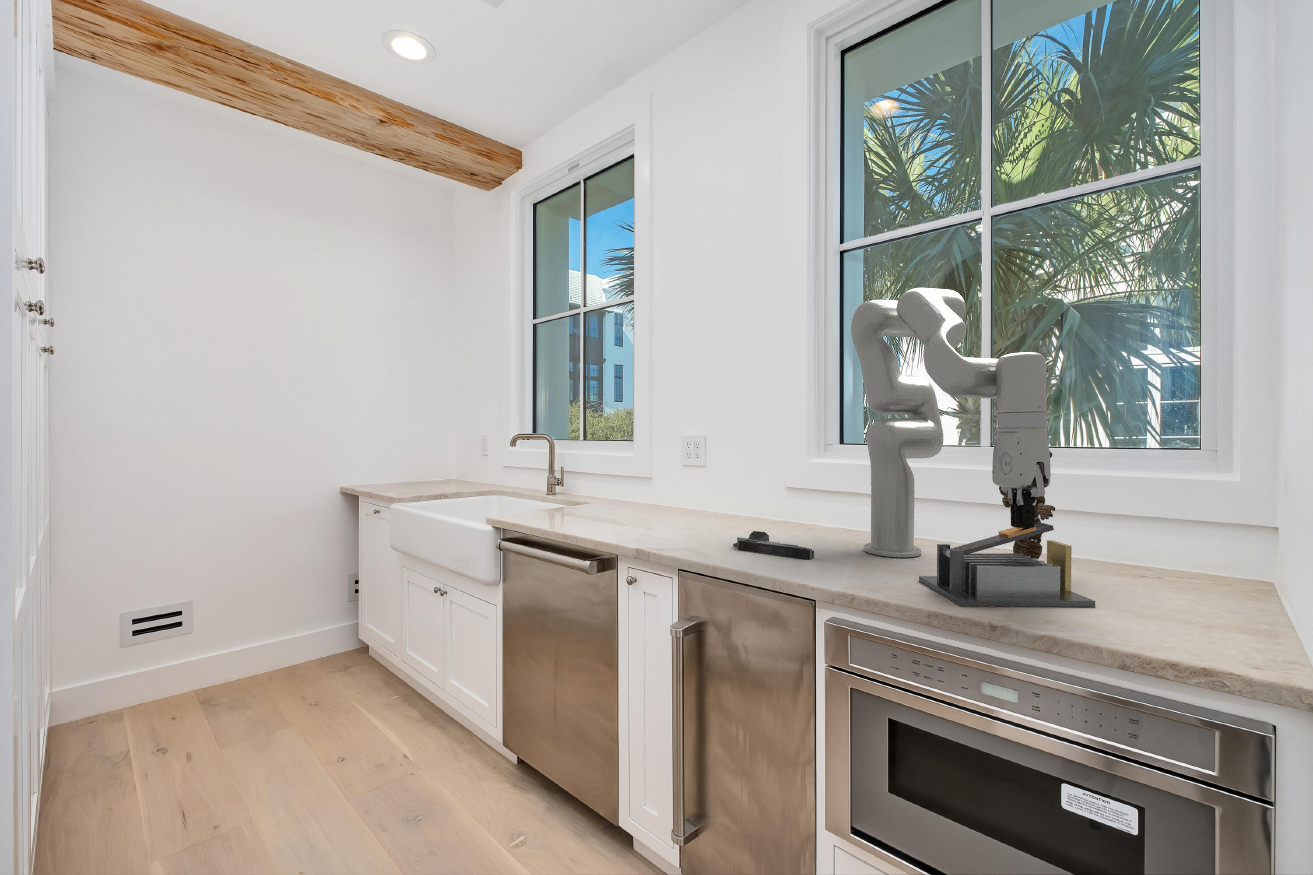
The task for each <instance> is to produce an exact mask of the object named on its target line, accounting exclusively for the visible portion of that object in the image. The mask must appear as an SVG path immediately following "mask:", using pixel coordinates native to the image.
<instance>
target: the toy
mask: <svg viewBox="0 0 1313 875" xmlns="http://www.w3.org/2000/svg"><path fill="white" fill-rule="evenodd" d="M1049 453H1050V459H1051V458H1052V457H1053V453H1052V451H1051V450H1050V449H1049ZM998 491H999V492H1000V495H1001V496H1002V498H1001V502H1002V505H1003V506H1004V507H1005V508H1008V509H1009V508H1010V512H1011V504H1010V503H1009V500H1008V494H1007V493H1005V492H1003V491H1002V490H1001V486H998ZM1055 511H1056V507H1055V506H1053V505H1049V504H1046V498H1045V495H1044V496H1040V497H1037V500H1036V505H1034V525H1036V524H1039V523H1042V521H1045V520H1049V519H1050V518H1053V517H1054V515H1053V512H1055ZM1042 535H1043V533H1041V534H1038V535H1034V536H1031V537H1027V538H1024V539H1020V540H1017V541H1013V546H1012V553H1022V554H1024V556H1031V558H1037V559H1038V560H1039V559H1040V558H1041V556H1042V553H1043V545H1042V544H1041V543H1042Z"/></svg>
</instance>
